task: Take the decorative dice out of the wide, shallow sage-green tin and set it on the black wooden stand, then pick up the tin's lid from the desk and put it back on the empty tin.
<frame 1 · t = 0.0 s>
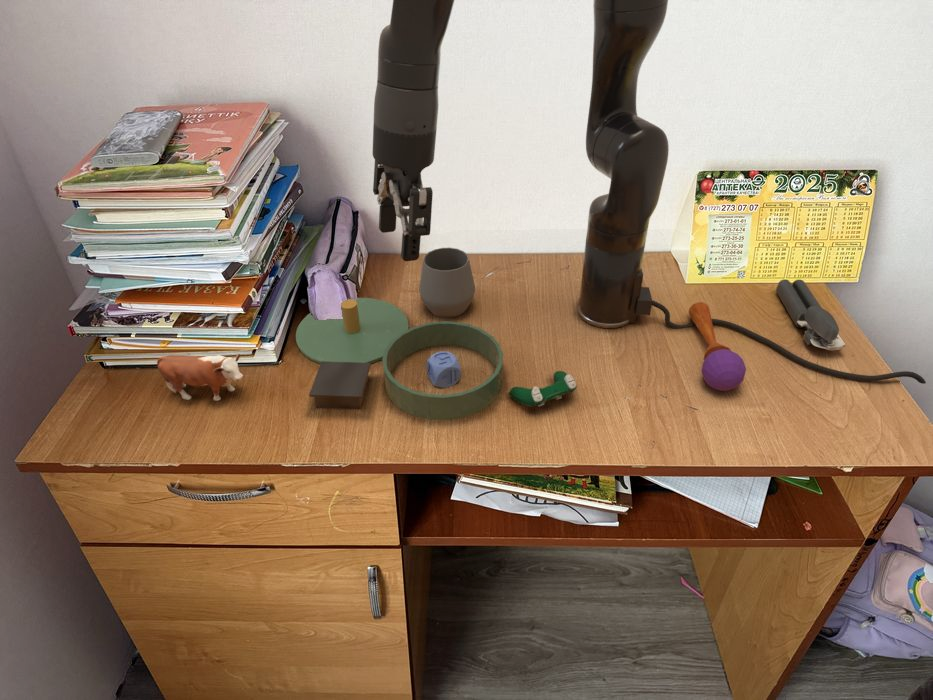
hand: (398, 244, 89), 22 cm above the table, tool pointing down, fingers open, 8 cm apart
tin lid: (353, 331, 111), point 1 cm above the table
purple maraca: (708, 356, 105), on the table
decorative dice: (444, 380, 101), resting on tin
tin: (444, 381, 101), on the table
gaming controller: (544, 398, 98), on the table
stand: (343, 396, 99), on the table
can opener: (805, 324, 112), on the table
cup: (448, 310, 116), on the table
bull figurine: (212, 397, 100), on the table
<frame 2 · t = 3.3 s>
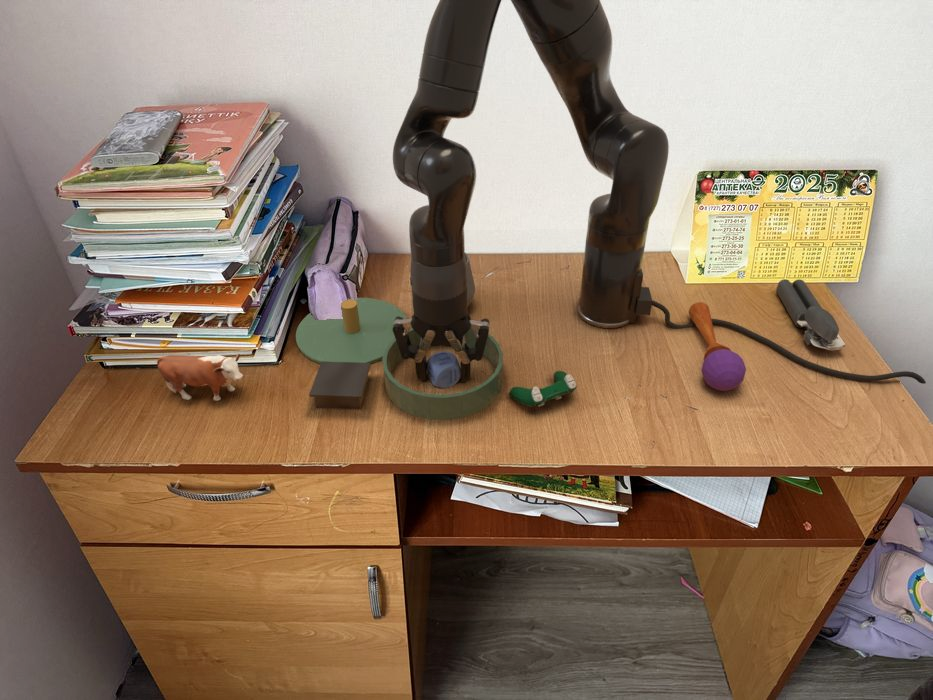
hand: (443, 377, 101), 1 cm above the table, tool pointing down, fingers closed on decorative dice, 5 cm apart
decorative dice: (444, 380, 101), resting on tin, touching gripper
everything else where it was.
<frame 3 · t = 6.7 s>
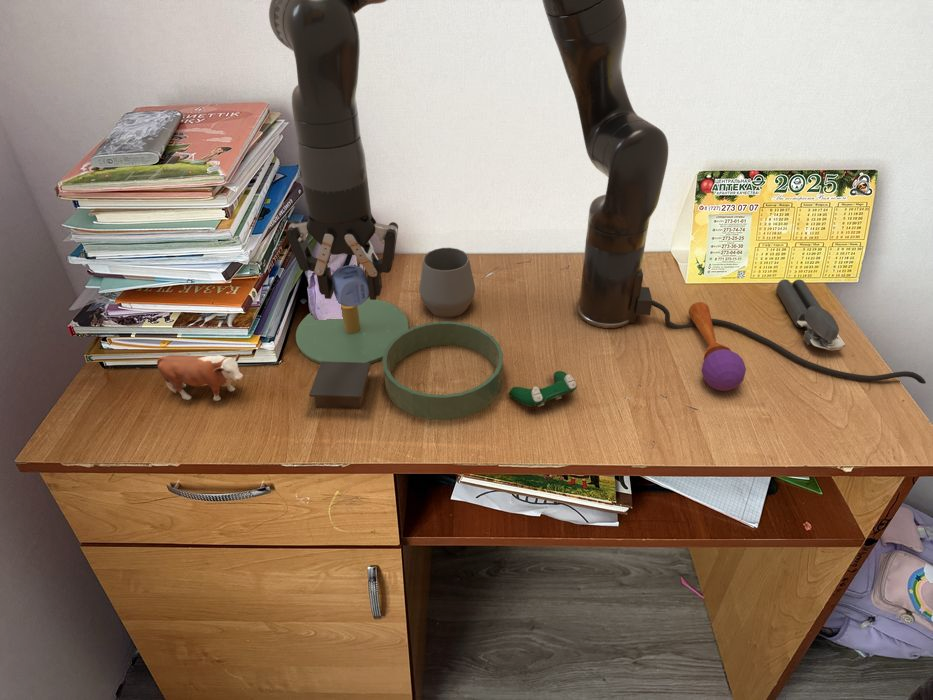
hand: (351, 295, 89), 17 cm above the table, tool pointing down, fingers closed on decorative dice, 5 cm apart
decorative dice: (352, 299, 89), point 17 cm above the table, touching gripper
everything else where it was.
when the fingers open (4 cm above the table, at t = 10.3 s): decorative dice stays where it is, resting on stand.
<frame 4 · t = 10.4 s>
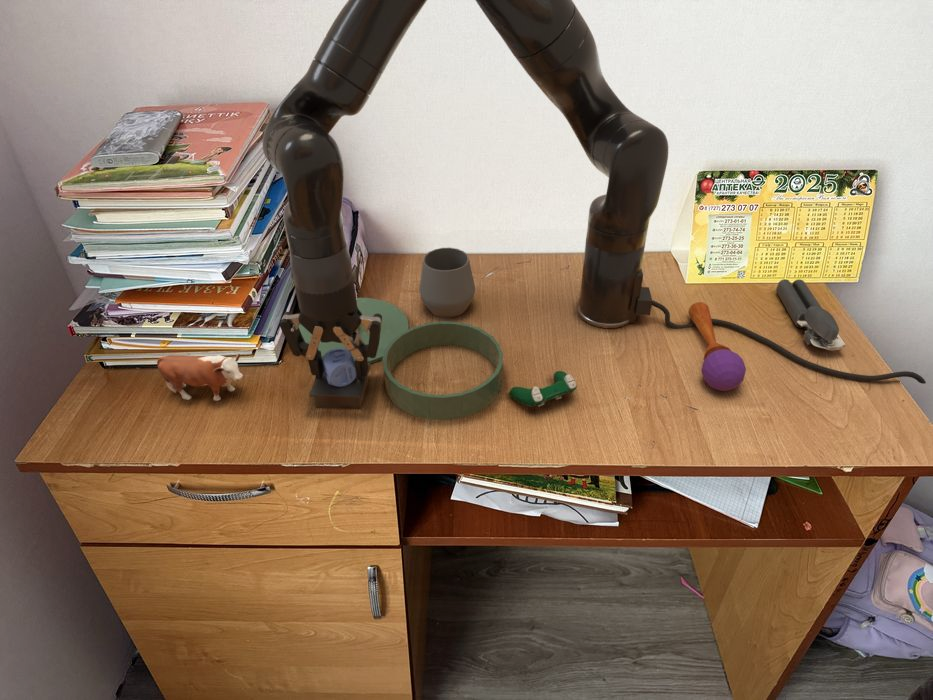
hand: (340, 375, 97), 4 cm above the table, tool pointing down, fingers open, 5 cm apart
decorative dice: (341, 379, 97), point 3 cm above the table, touching stand
everything else where it was.
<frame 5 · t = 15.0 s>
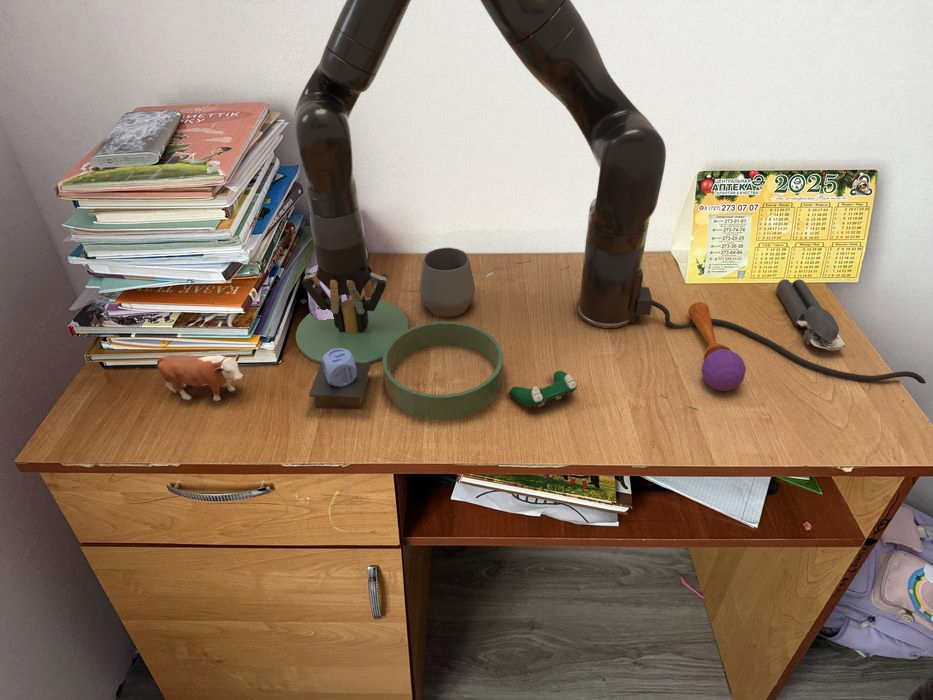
hand: (352, 328, 110), 1 cm above the table, tool pointing down, fingers closed on tin lid, 2 cm apart
tin lid: (353, 331, 111), point 1 cm above the table, touching gripper
everything else where it was.
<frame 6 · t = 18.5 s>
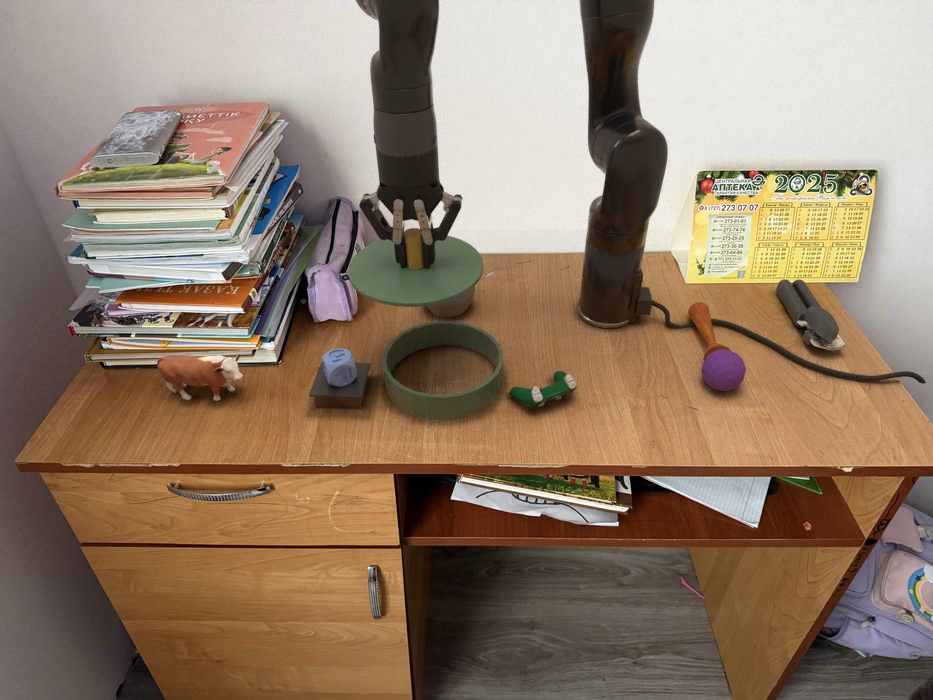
hand: (415, 264, 92), 19 cm above the table, tool pointing down, fingers closed on tin lid, 2 cm apart
tin lid: (416, 268, 92), point 18 cm above the table, touching gripper
everything else where it was.
when the fingers open (5 cm above the table, at t = 22.3 s): tin lid stays where it is, resting on tin.
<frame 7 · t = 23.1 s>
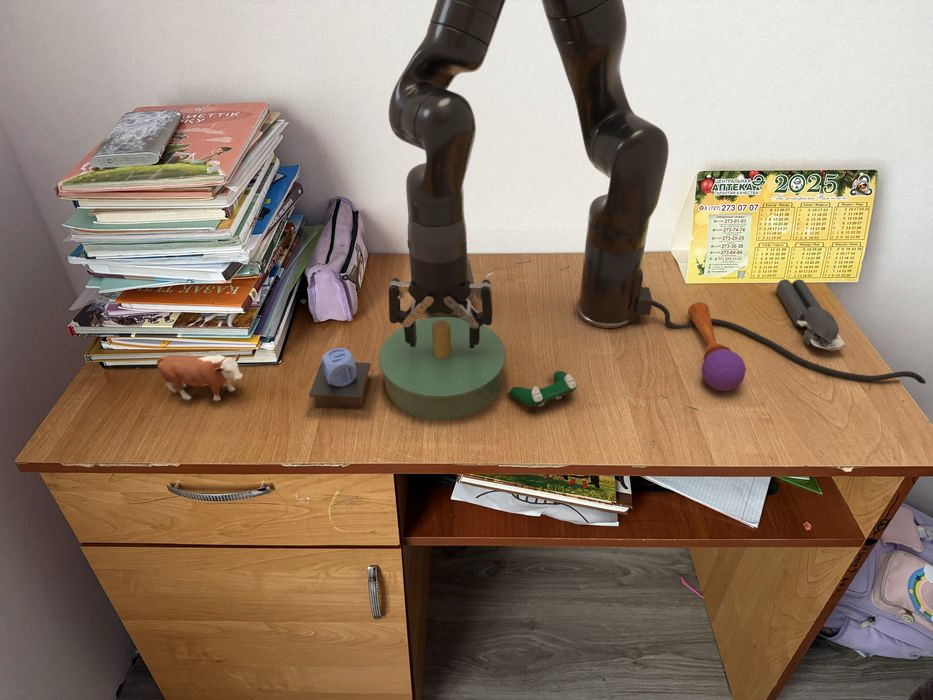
hand: (442, 344, 97), 7 cm above the table, tool pointing down, fingers open, 8 cm apart
tin lid: (442, 356, 98), point 5 cm above the table, touching tin
everything else where it was.
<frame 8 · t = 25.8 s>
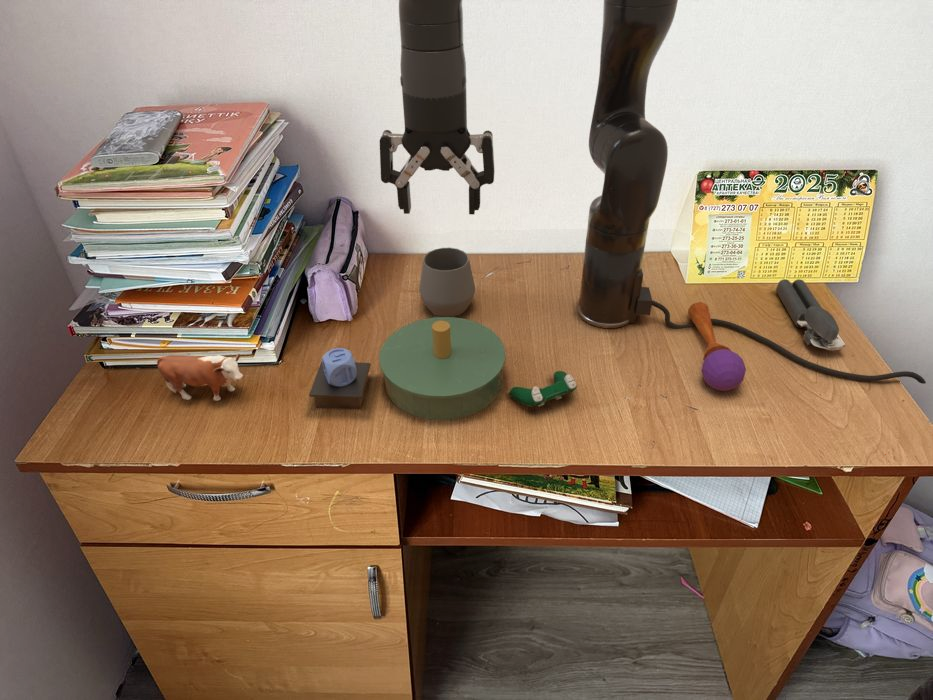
hand: (439, 211, 88), 26 cm above the table, tool pointing down, fingers open, 8 cm apart
nothing on the table moved.
at the end: decorative dice 0.1 cm off-centre on the stand, point 3.3 cm above the stand's base; tin lid 0.1 cm off-centre on the tin, point 4.8 cm above the tin's base; tin lid tilted 0° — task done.
